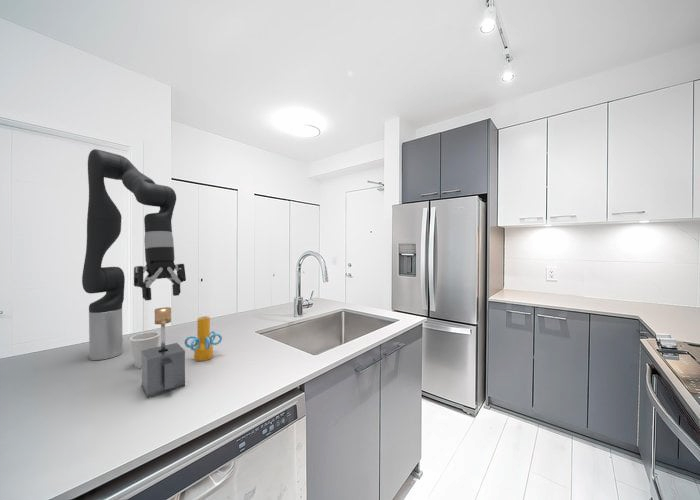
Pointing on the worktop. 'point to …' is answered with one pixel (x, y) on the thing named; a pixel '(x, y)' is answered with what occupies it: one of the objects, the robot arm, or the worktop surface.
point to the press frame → (163, 369)
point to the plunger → (163, 322)
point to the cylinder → (203, 340)
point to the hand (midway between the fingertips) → (162, 297)
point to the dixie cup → (143, 344)
